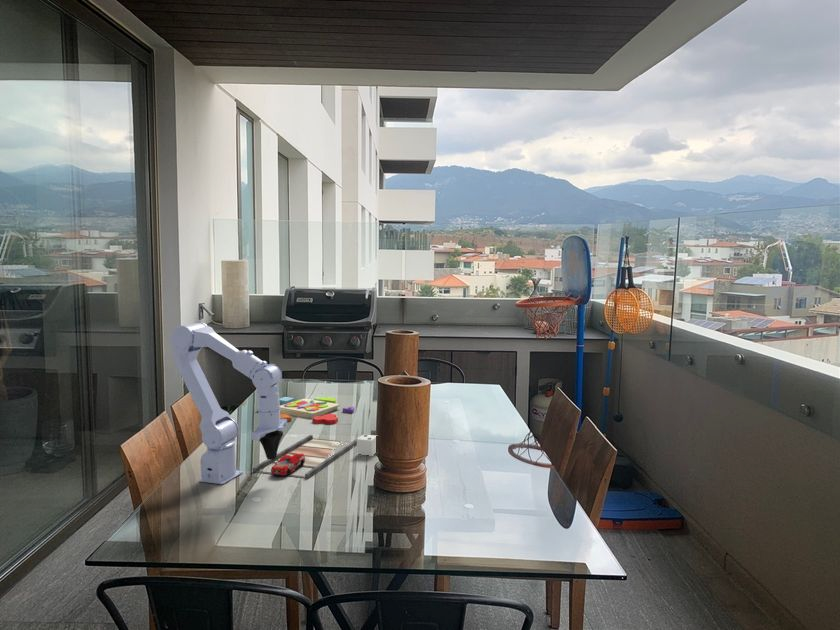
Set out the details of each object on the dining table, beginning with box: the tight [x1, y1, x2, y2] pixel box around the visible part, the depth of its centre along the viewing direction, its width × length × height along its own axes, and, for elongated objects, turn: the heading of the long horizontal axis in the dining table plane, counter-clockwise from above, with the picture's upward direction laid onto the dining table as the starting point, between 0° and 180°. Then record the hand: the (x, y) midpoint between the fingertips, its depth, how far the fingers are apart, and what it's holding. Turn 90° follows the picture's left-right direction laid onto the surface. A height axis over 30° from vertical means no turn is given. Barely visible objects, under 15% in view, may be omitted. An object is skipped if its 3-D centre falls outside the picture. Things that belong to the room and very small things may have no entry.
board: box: [252, 434, 358, 480], centre depth 191 cm, size 33×18×1 cm, turn 161°
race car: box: [270, 452, 305, 477], centre depth 179 cm, size 13×5×4 cm, turn 161°
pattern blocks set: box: [279, 396, 355, 425], centre depth 245 cm, size 38×34×3 cm
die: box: [356, 434, 377, 457], centre depth 193 cm, size 5×5×5 cm
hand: (271, 458), depth 171 cm, fingers closed
